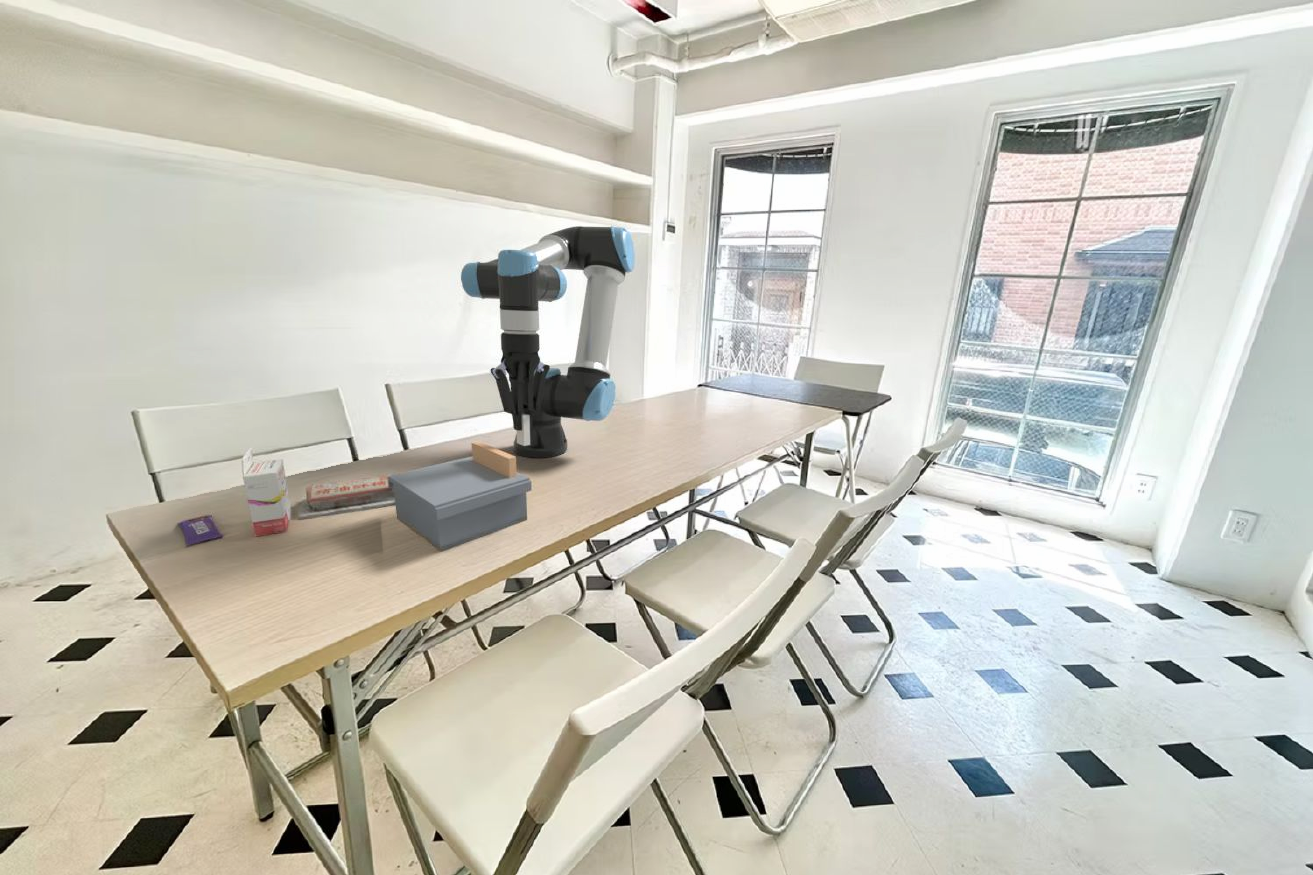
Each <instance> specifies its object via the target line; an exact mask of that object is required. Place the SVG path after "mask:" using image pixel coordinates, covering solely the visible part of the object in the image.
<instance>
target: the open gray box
mask: <svg viewBox="0 0 1313 875" xmlns="http://www.w3.org/2000/svg"><path fill="white" fill-rule="evenodd" d="M393 489H394V498H395V505H394V506H395V514H396V519H397V521H399V522H400V523H402V524H403V525H404V526H406V527H407V528H409V529H410V531H412V532H413V533H415V534H416V535H418V536H419V537H420V538H422V539H423V540H425V541H426V542H427V543H428V544H429V545H430V546H433V547H434V548H435V549H436V550H437V551H439V552H440V553H441V552H443V551H448V550H449V549H452V548H455V547H457V546H460V545H463V544H467V543H469V542H471V541H474V540H477V539H479V538H483V537H485V536H488V535H490V534H492V533H496V532H499V531H500V530H501V531H502V530H504V529H507V528H510V527H512V526H514V525H517V524H518V525H519V524H521V523H523V522H525V521H528V507H527V506H528V503H527V502H528V501H527V499H528V498H527V492H525V493H522V494H519V495H516V496H513V497H510V498H506V499H503V500H500V501H497V502H494V503H491V504H488V505H484V506H481V507H478V508H475V509H472V510H469V511H466V512H462V513H459V514H456V515H453V516H450V517H447V518H443V519H440V520H436V514H435V511H434V510H433V509H431V508H430V507H428V506H427V505H425V504H423V503H422V502H420V501H419V500H417V499H416V498H414V497H413V496H411V495H410V494H408V493H407V492H405V491H404V490H402V489H401V488H399V487H398V486H396V485H394V484H393Z"/></svg>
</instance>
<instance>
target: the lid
mask: <svg viewBox="0 0 1313 875" xmlns="http://www.w3.org/2000/svg"><path fill="white" fill-rule="evenodd" d="M470 444H471V456H468V457H463V458H459V459H454V460H450V461H447V462H446V461H445V462H443V463H442V462H441V463H437V464H434V465H429V466H425V467H419V468H417V469H412V470H408V471H403V472H399V473H394V474H390V475H387V476H388V477H387V481H388V487H389V488H391V487H393V484H394V485H396V486H398V487H399V488H401V489H402V490H404V491H405V492H407V493H408V494H410V495H411V496H413V497H414V498H416V499H417V500H419V501H420V502H422V503H423V504H425V505H427V506H428V507H430V508H431V509H433V510H434V511H435V514H436V520H440V519H443V518H447V517H450V516H453V515H456V514H459V513H462V512H466V511H469V510H472V509H475V508H478V507H481V506H484V505H488V504H491V503H494V502H497V501H500V500H503V499H506V498H510V497H513V496H516V495H519V494H522V493H525V492H526V493H528V492H531V491H532V480H530V477H528V476H526V475H524V474H522V473H520V472H518V471H517V457H516V456H515V455H513V454H510V453H508V452H505V451H502V450H501V449H498V448H497V447H494V446H491V445H489V444H486V443H483V442H481V441H479V440H478V441H473V442H471V443H470Z"/></svg>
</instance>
